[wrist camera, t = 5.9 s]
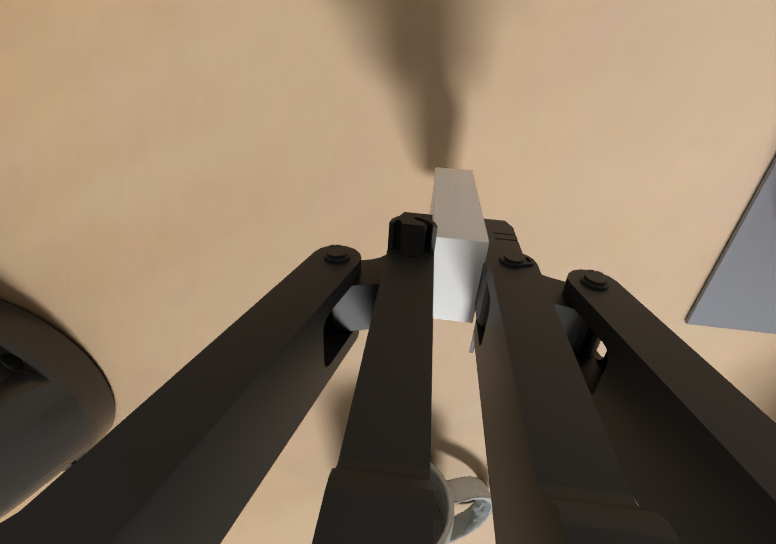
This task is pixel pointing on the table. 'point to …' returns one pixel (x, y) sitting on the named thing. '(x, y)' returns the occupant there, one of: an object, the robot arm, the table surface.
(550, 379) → the robot arm
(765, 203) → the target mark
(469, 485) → the ceramic mug
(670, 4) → the table surface
